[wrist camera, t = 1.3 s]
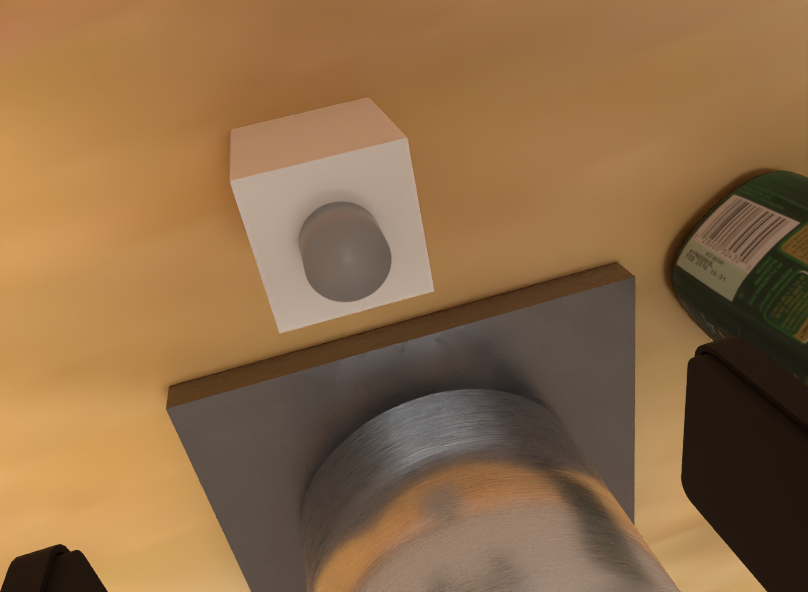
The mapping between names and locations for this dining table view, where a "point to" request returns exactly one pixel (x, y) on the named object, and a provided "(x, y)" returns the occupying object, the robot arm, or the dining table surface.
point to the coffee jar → (752, 269)
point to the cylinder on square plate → (436, 451)
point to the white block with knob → (330, 212)
